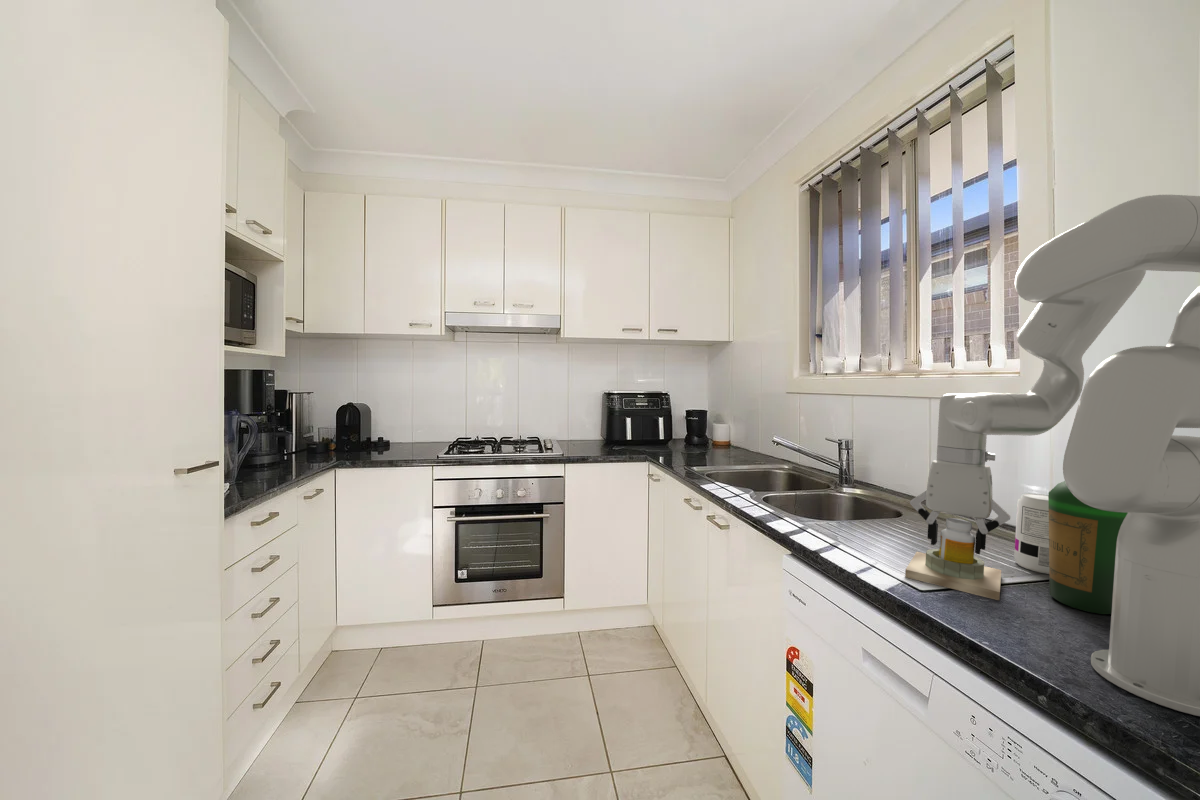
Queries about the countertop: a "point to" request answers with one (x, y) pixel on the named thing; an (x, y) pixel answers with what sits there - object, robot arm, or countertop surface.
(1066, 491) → the bottle
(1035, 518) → the supplement can
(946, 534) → the supplement bottle
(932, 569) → the collar holder
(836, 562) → the countertop surface
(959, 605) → the countertop surface
